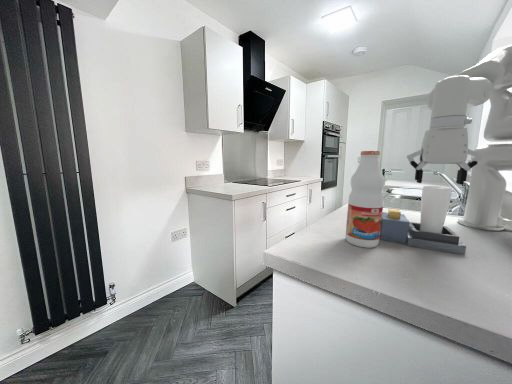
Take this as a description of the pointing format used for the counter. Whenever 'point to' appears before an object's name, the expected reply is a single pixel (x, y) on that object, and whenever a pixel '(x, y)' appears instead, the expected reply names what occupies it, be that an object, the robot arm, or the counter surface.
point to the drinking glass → (434, 208)
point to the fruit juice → (365, 202)
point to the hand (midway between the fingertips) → (438, 183)
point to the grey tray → (418, 234)
